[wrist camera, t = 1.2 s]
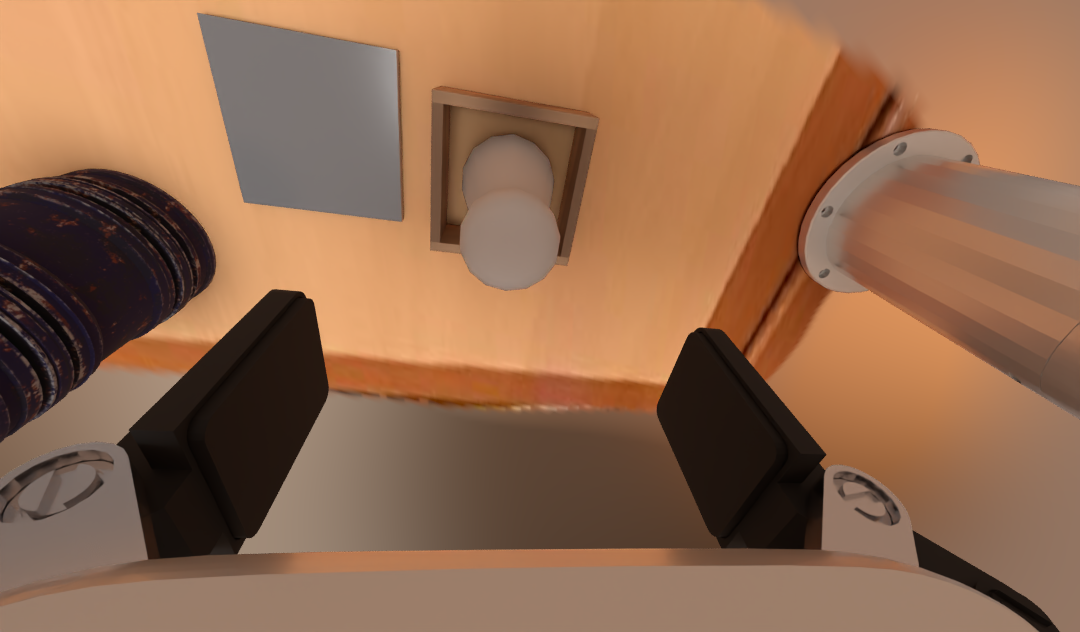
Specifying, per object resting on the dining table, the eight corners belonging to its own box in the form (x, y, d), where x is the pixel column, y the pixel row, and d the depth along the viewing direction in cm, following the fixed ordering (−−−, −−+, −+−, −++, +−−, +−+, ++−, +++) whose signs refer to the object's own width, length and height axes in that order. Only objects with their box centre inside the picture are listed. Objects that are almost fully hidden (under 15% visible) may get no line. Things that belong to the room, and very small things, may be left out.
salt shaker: (493, 108, 24) (485, 144, 13) (566, 161, 26) (610, 230, 15) (450, 188, 27) (413, 274, 16) (520, 231, 29) (530, 332, 18)
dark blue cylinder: (202, 322, 31) (-4, 498, 18) (42, 262, 27) (-350, 430, 15) (231, 219, 27) (-9, 356, 14) (48, 132, 23) (-492, 212, 11)
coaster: (398, 50, 22) (396, 50, 22) (403, 218, 27) (401, 221, 27) (204, 14, 21) (197, 13, 20) (249, 199, 26) (244, 202, 25)
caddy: (587, 112, 25) (599, 118, 22) (561, 245, 30) (567, 265, 27) (440, 86, 23) (432, 89, 20) (437, 231, 28) (430, 250, 25)
